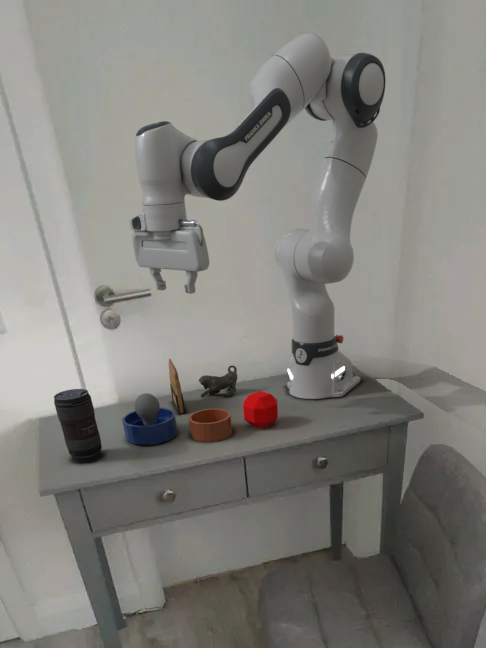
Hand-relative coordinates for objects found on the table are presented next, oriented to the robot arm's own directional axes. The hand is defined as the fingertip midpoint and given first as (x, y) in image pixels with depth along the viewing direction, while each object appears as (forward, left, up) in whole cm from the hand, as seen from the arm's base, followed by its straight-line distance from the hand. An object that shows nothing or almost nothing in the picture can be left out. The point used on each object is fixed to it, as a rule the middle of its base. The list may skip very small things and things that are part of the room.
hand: (175, 291), depth 137 cm
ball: (-9, +15, -31) cm, 36 cm away
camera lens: (+28, -8, -31) cm, 43 cm away
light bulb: (+11, -4, -31) cm, 33 cm away
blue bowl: (+11, -4, -31) cm, 33 cm away
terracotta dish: (+2, +8, -31) cm, 32 cm away
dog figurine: (-20, -10, -31) cm, 38 cm away
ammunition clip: (-7, -13, -31) cm, 35 cm away
